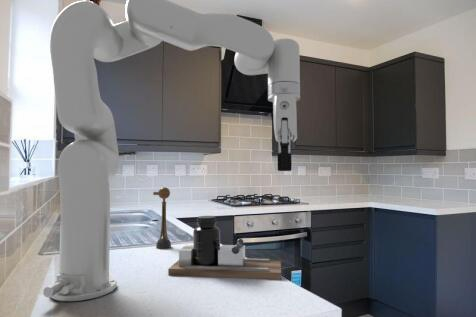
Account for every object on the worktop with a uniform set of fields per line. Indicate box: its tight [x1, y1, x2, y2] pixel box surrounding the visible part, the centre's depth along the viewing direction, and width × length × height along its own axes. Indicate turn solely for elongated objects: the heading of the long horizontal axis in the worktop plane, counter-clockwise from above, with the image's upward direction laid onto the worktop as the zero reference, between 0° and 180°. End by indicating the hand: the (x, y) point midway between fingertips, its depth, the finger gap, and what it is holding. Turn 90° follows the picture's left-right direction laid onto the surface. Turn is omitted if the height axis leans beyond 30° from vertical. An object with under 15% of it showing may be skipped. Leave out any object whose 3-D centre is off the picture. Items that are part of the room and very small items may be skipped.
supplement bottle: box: [192, 215, 221, 266], centre depth 82 cm, size 7×7×12 cm
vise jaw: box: [218, 238, 246, 267], centre depth 81 cm, size 11×6×5 cm, turn 173°
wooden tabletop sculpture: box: [152, 186, 172, 250], centre depth 107 cm, size 6×5×20 cm
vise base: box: [167, 244, 282, 280], centre depth 81 cm, size 10×27×6 cm, turn 83°
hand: (284, 170), depth 75 cm, fingers closed
